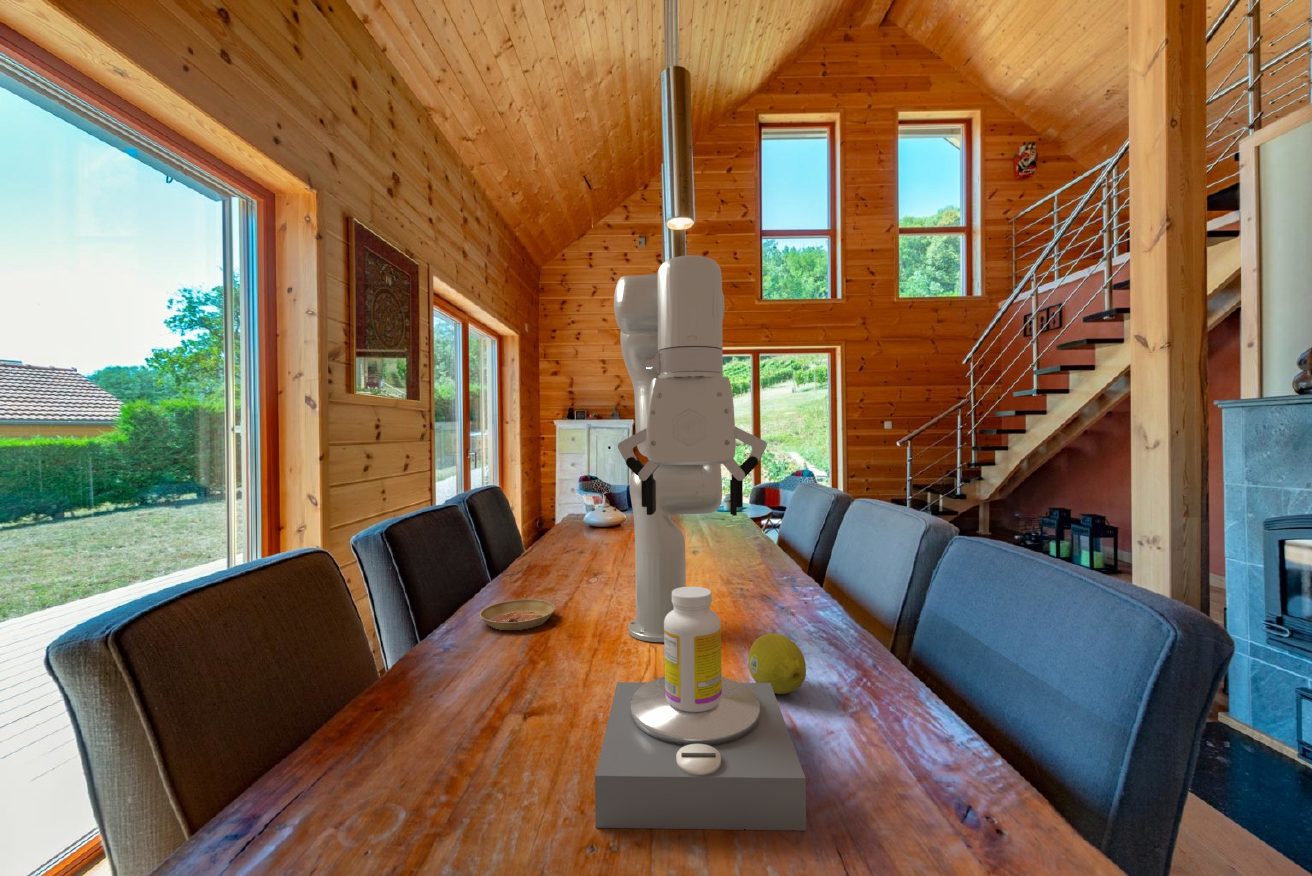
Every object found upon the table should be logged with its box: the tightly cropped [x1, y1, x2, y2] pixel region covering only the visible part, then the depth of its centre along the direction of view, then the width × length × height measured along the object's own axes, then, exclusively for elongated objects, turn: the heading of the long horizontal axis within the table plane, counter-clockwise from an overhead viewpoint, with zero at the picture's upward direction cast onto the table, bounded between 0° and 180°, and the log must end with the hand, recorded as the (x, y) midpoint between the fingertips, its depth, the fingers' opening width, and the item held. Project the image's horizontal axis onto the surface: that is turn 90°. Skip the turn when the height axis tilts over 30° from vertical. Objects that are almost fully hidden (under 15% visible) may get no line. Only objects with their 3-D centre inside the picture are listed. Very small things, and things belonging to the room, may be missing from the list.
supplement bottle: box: [663, 586, 723, 712], centre depth 66 cm, size 7×7×13 cm
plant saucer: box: [479, 598, 556, 631], centre depth 113 cm, size 15×15×3 cm
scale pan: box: [631, 676, 760, 745], centre depth 66 cm, size 15×15×1 cm
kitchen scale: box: [594, 681, 807, 832], centre depth 63 cm, size 20×20×6 cm
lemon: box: [747, 632, 807, 695], centre depth 81 cm, size 11×8×8 cm
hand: (692, 513), depth 65 cm, fingers open, 9 cm apart
